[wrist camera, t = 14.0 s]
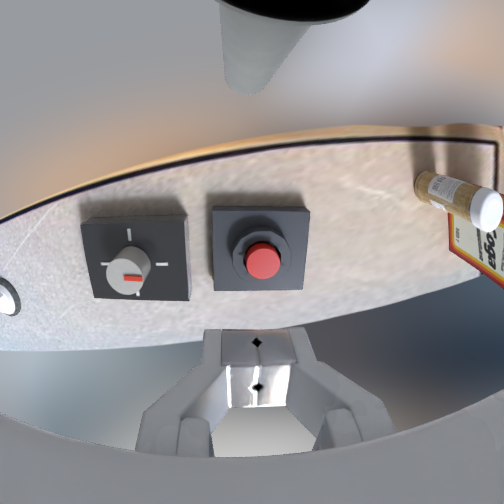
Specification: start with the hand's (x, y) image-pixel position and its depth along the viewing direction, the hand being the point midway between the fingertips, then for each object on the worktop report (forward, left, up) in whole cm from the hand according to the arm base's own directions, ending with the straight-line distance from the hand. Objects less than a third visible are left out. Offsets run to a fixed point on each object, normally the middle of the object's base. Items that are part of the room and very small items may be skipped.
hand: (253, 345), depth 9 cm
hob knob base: (+8, -12, -27) cm, 30 cm away
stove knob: (+16, -40, -27) cm, 51 cm away
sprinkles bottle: (-2, +26, -27) cm, 37 cm away
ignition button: (+7, +3, -23) cm, 24 cm away
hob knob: (+8, -12, -24) cm, 28 cm away
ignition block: (+7, +3, -27) cm, 28 cm away
